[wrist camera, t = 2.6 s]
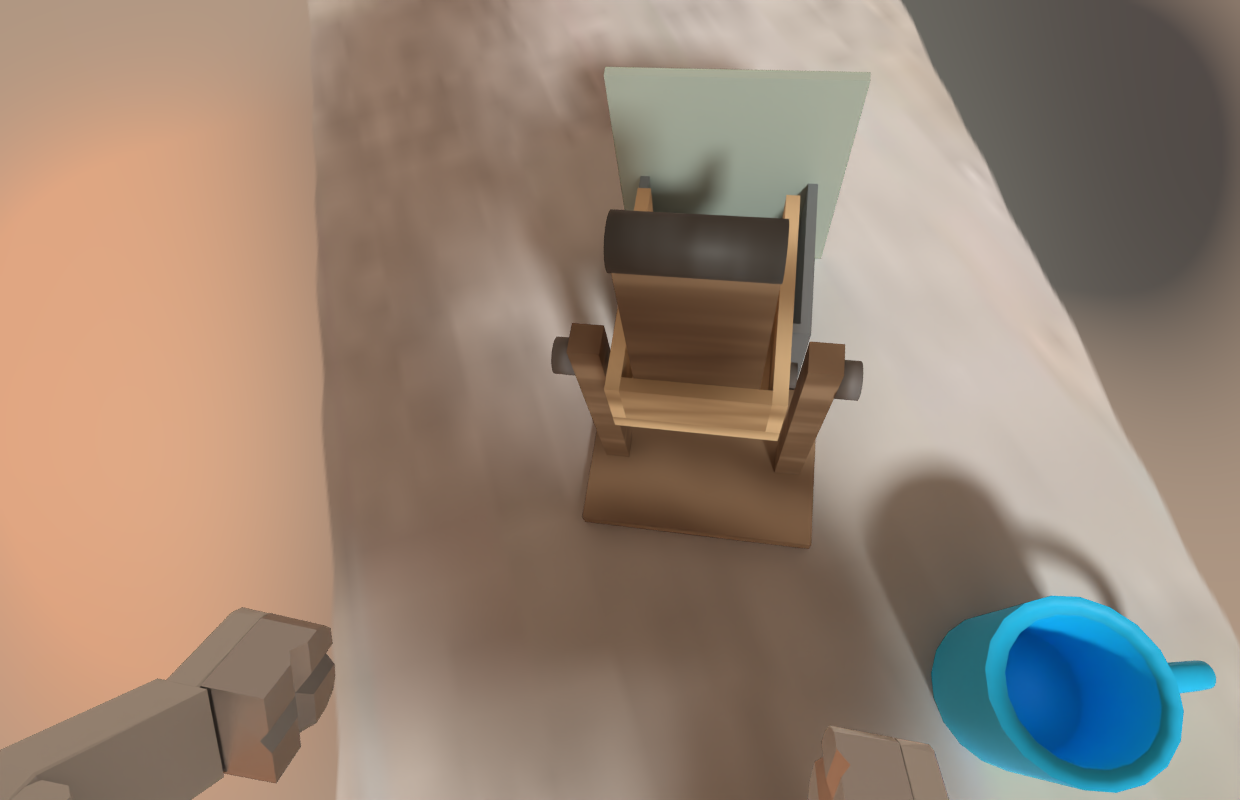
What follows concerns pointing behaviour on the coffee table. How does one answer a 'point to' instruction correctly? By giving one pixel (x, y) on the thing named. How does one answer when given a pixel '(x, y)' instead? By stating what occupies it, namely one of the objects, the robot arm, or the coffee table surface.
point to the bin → (740, 149)
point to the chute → (702, 319)
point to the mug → (1064, 693)
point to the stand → (707, 456)
